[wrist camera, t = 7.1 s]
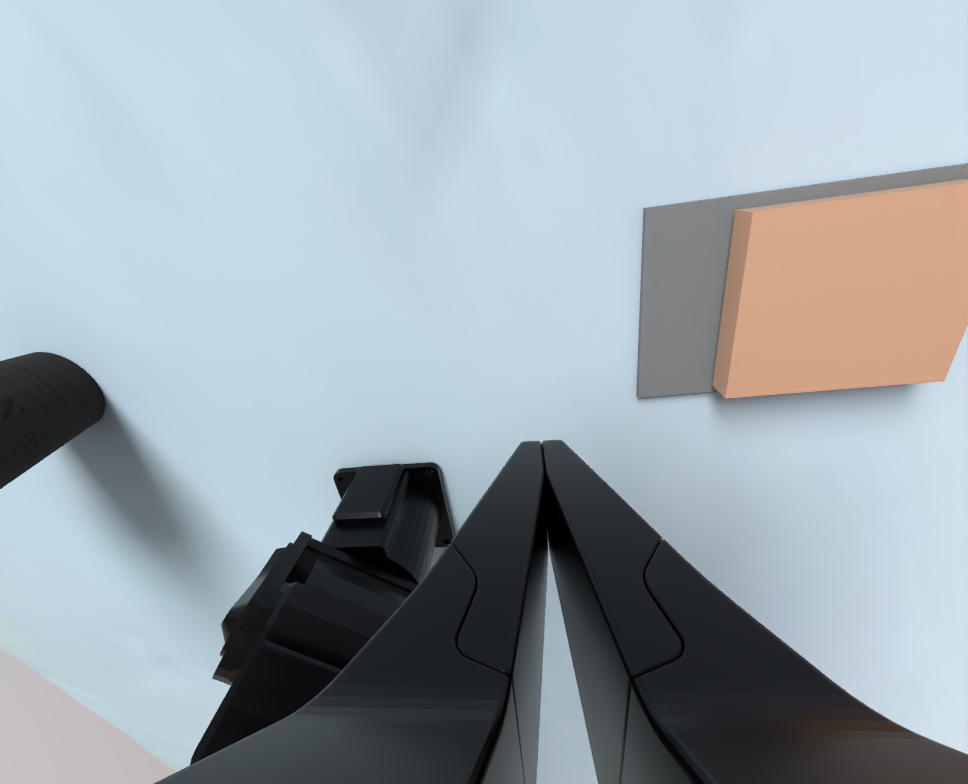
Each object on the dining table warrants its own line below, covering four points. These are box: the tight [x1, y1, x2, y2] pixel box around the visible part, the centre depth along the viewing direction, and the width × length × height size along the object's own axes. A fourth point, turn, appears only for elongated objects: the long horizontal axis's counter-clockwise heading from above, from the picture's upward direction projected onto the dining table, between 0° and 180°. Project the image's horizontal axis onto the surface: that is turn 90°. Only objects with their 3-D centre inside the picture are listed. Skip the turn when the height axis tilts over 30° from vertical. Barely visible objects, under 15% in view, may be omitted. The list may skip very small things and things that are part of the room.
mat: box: [637, 163, 968, 398], centre depth 18 cm, size 9×13×1 cm
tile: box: [712, 179, 968, 399], centre depth 17 cm, size 8×2×9 cm
